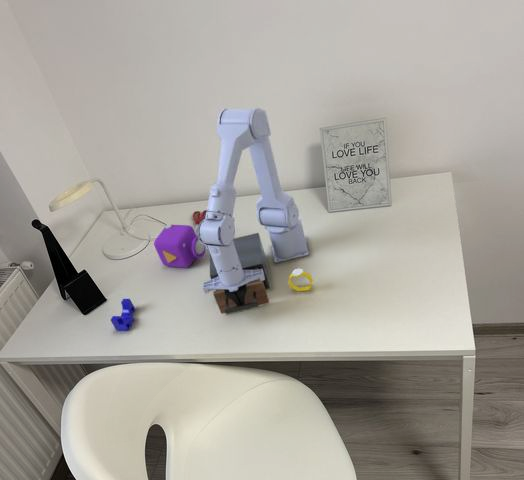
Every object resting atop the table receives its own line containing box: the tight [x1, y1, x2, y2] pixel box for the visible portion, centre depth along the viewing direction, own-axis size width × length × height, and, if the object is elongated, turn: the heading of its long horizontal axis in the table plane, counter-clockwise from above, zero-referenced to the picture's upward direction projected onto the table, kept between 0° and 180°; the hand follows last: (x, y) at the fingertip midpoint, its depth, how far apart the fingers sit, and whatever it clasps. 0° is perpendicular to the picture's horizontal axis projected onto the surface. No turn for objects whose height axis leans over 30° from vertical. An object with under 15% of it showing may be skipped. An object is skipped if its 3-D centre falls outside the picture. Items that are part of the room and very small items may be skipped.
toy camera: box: [153, 223, 207, 268], centre depth 157 cm, size 11×14×10 cm
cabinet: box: [209, 232, 271, 291], centre depth 145 cm, size 14×14×9 cm
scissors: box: [192, 209, 207, 234], centre depth 171 cm, size 5×14×1 cm, turn 172°
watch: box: [287, 267, 314, 292], centre depth 136 cm, size 6×3×6 cm, turn 75°
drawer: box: [213, 267, 270, 315], centre depth 138 cm, size 17×12×7 cm
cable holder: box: [110, 298, 136, 332], centre depth 145 cm, size 8×4×4 cm, turn 164°
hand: (242, 306), depth 134 cm, fingers closed, pressing on drawer
